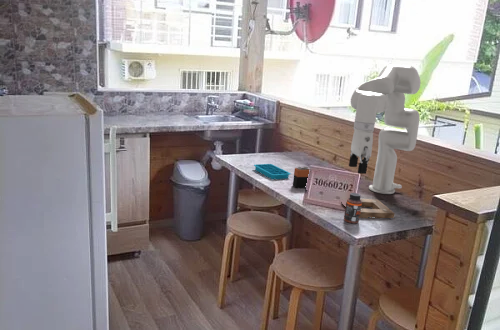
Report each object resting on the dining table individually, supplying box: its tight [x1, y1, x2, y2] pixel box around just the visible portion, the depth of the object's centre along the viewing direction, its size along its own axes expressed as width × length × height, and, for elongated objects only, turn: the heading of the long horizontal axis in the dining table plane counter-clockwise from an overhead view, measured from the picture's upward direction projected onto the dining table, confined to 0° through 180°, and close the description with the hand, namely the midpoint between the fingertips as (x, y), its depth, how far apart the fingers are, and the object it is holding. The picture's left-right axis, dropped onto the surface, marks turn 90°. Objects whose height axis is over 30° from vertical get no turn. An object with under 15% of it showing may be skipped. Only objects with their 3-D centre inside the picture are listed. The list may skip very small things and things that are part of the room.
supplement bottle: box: [343, 192, 362, 224], centre depth 174 cm, size 6×6×11 cm
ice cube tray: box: [253, 163, 292, 180], centre depth 233 cm, size 12×20×3 cm, turn 30°
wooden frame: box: [359, 198, 395, 219], centre depth 189 cm, size 17×17×3 cm
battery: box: [292, 166, 310, 189], centre depth 214 cm, size 4×7×10 cm, turn 110°
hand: (357, 169), depth 172 cm, fingers open, 9 cm apart
